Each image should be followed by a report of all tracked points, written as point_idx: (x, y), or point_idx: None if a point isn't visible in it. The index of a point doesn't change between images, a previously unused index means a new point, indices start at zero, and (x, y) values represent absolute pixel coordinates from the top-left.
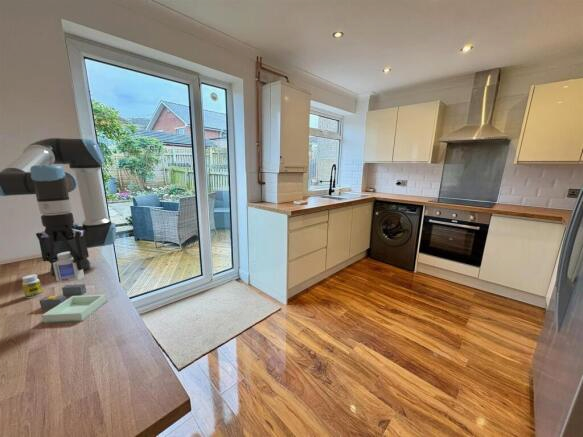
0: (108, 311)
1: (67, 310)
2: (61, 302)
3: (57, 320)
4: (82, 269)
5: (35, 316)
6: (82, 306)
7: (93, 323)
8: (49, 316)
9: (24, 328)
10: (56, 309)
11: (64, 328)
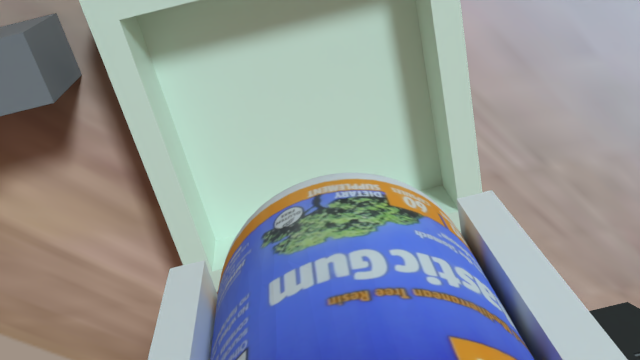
0: (563, 57)
1: (215, 123)
2: (64, 81)
3: None
4: (551, 272)
5: (16, 206)
6: (285, 49)
7: (562, 199)
8: None
9: (136, 313)
10: (188, 197)
11: None
